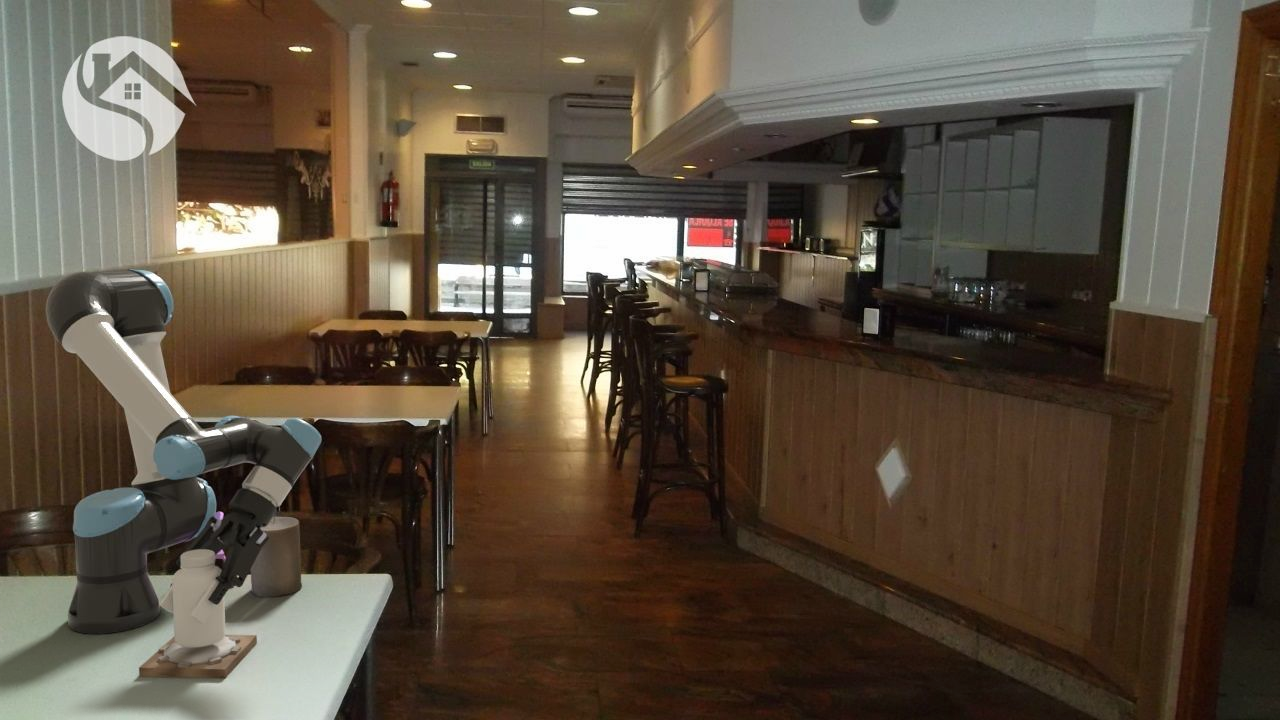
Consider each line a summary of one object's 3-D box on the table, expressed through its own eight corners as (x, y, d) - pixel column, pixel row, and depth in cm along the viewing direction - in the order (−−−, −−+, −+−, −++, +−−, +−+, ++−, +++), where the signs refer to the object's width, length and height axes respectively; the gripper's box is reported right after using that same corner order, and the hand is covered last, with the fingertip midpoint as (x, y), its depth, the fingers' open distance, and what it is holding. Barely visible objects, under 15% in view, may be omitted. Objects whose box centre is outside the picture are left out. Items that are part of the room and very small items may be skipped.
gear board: (139, 676, 170) (138, 664, 169) (177, 641, 184) (176, 630, 183) (225, 678, 170) (225, 666, 169) (256, 643, 184) (256, 632, 183)
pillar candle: (310, 582, 214) (308, 511, 212) (286, 599, 205) (283, 524, 203) (266, 579, 216) (263, 509, 214) (241, 596, 206) (237, 522, 204)
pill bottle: (236, 637, 177) (232, 551, 175) (193, 653, 171) (189, 564, 169) (206, 626, 182) (203, 543, 180) (164, 642, 175) (160, 555, 173)
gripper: (311, 518, 181) (235, 638, 170) (235, 500, 192) (158, 611, 181) (285, 495, 176) (205, 617, 165) (208, 478, 187) (128, 590, 175)
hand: (181, 613), depth 173 cm, fingers closed on pill bottle, 8 cm apart
